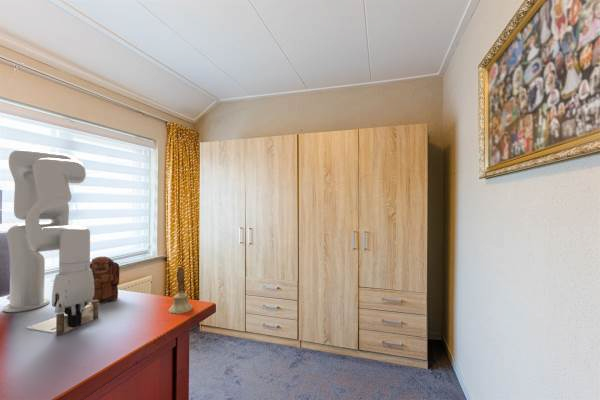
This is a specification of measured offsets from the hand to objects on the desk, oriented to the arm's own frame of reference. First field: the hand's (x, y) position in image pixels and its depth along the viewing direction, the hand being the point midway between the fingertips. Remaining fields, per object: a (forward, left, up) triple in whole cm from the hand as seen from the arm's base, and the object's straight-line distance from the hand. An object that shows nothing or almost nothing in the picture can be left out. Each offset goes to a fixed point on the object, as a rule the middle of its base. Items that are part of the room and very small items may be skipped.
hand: (74, 326), depth 87 cm
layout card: (-11, +2, -2) cm, 11 cm away
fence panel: (-3, +2, -1) cm, 4 cm away
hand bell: (+20, +24, -2) cm, 31 cm away
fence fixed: (-9, +9, -2) cm, 13 cm away
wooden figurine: (-16, +22, -2) cm, 28 cm away
